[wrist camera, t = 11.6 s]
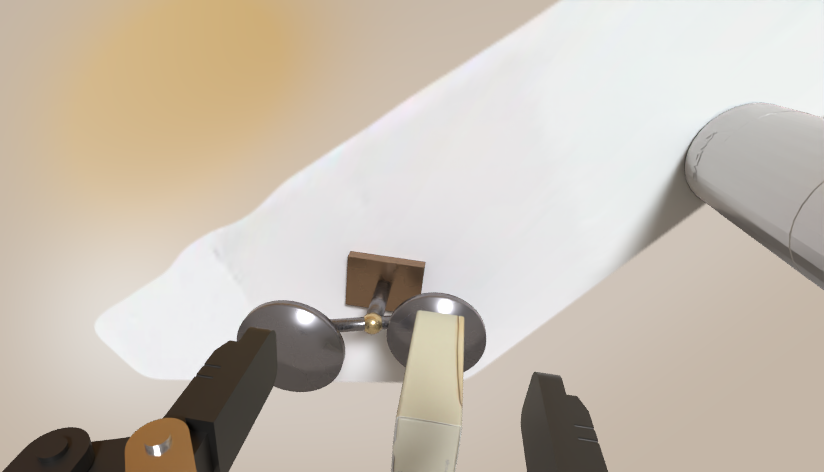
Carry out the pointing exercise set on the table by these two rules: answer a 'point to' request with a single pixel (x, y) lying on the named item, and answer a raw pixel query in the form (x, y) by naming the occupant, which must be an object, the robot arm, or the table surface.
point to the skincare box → (431, 396)
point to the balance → (359, 321)
